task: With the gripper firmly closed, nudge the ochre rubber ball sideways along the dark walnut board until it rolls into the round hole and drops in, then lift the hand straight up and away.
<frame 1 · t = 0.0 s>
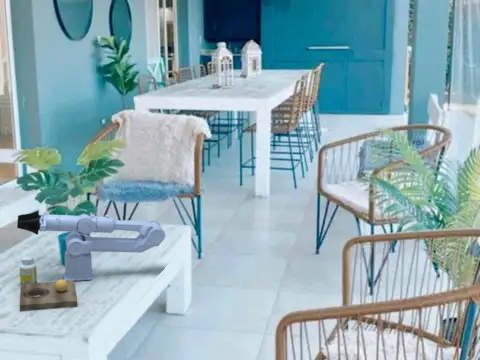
hand: (17, 221, 225), 22 cm above the table, tool horizontal, fingers open, 7 cm apart
supplement bottle: (28, 285, 227), on the table
ball: (61, 285, 217), point 4 cm above the table, touching deck
deck: (48, 297, 216), on the table
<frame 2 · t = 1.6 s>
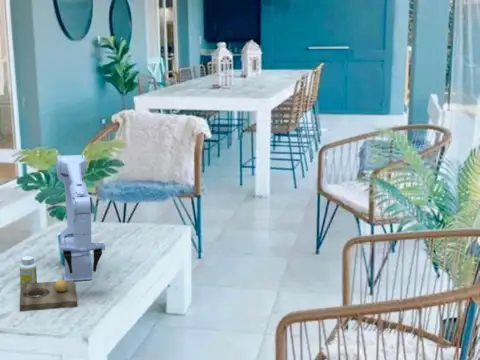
hand: (82, 271, 218), 8 cm above the table, tool pointing down, fingers open, 7 cm apart
nothing on the table moved.
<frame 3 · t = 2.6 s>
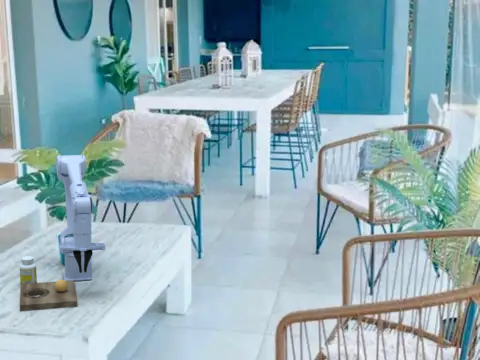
hand: (82, 271, 218), 8 cm above the table, tool pointing down, fingers closed
nothing on the table moved.
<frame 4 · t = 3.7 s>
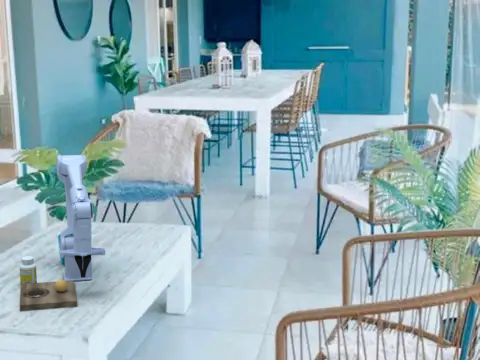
hand: (83, 276, 218), 7 cm above the table, tool pointing down, fingers closed
nothing on the table moved.
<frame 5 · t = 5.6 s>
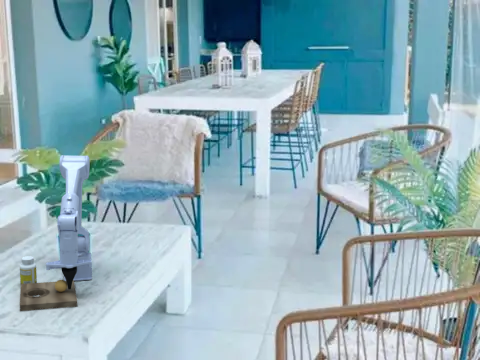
hand: (69, 288, 218), 3 cm above the table, tool pointing down, fingers closed, pressing on ball
ball: (61, 285, 217), point 4 cm above the table, touching deck, gripper
everything else where it was.
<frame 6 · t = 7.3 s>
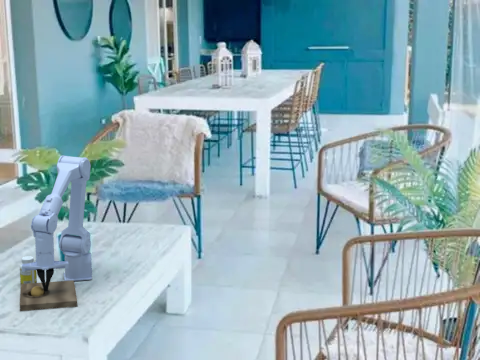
hand: (45, 290, 216), 3 cm above the table, tool pointing down, fingers closed
ball: (37, 292, 216), point 2 cm above the table, tilted 134°
everything else where it was.
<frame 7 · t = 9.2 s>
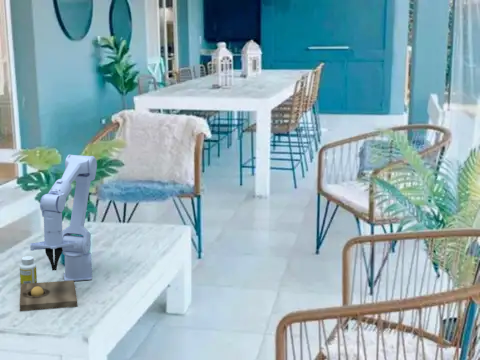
hand: (54, 269, 216), 9 cm above the table, tool pointing down, fingers closed
nothing on the table moved.
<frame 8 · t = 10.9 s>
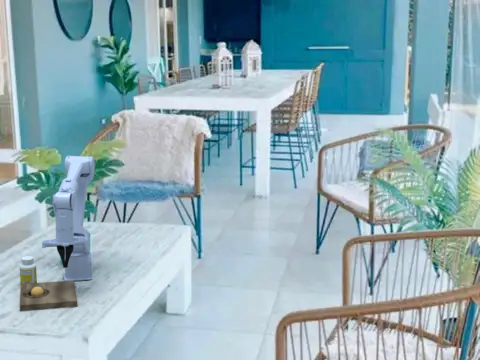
hand: (65, 266, 219), 9 cm above the table, tool pointing down, fingers closed
nothing on the table moved.
at the end: ball 0.4 cm from the target spot on the deck, point 2.0 cm above the deck's base; the gripper is holding nothing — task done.
